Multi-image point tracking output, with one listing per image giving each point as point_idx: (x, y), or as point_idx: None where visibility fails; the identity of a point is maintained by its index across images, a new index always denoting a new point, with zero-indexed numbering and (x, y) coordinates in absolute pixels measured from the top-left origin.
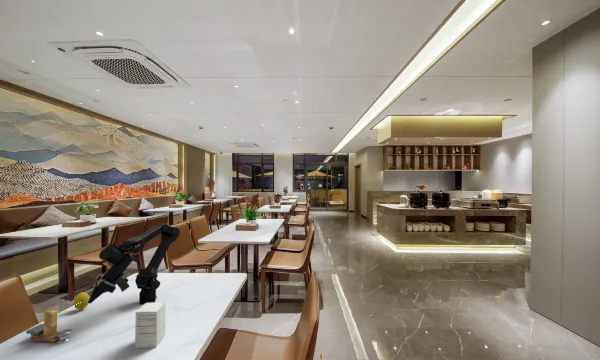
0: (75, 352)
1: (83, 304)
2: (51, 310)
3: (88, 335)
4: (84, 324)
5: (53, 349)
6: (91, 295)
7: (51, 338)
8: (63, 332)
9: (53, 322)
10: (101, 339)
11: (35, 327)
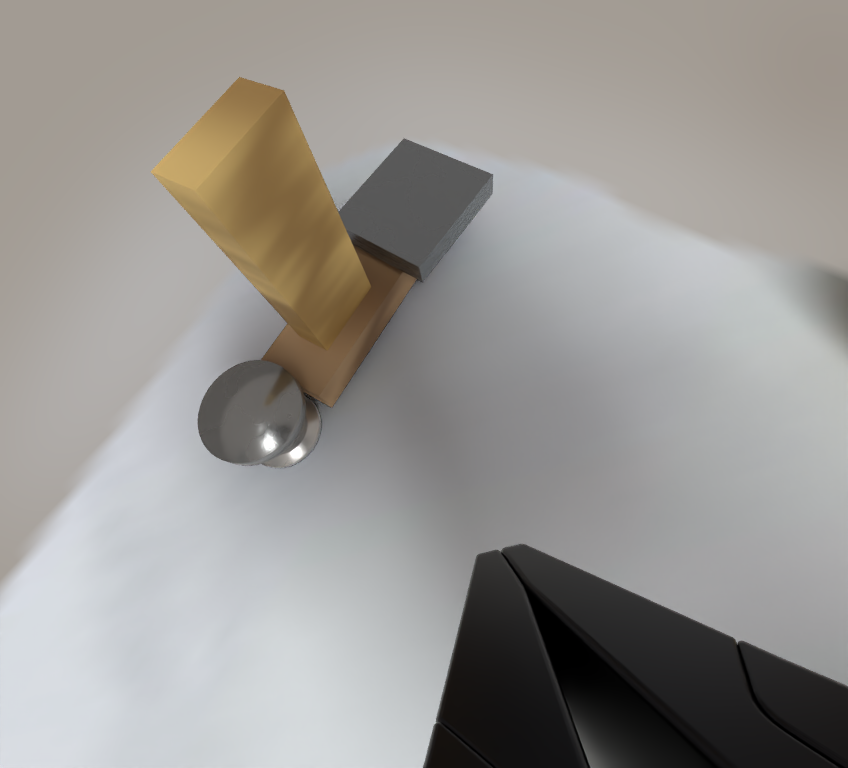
0: (38, 575)
1: None
2: (248, 124)
3: (266, 609)
4: (535, 508)
5: (190, 405)
6: (443, 693)
7: (279, 343)
8: (248, 406)
9: (245, 270)
10: (107, 764)
11: (435, 168)
